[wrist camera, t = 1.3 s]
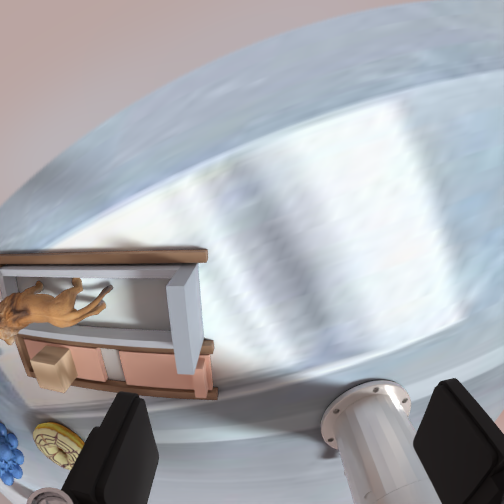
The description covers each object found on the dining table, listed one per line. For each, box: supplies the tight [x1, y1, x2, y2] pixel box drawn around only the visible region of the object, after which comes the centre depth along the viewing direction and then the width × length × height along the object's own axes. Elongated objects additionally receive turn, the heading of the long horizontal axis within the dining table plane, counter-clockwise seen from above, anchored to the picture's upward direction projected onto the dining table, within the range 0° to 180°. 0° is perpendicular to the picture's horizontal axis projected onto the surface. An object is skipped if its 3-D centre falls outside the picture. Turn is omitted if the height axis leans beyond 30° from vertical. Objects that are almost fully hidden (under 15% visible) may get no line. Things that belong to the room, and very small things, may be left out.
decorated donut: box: [33, 422, 85, 470], centre depth 37 cm, size 10×11×4 cm
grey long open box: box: [0, 263, 204, 375], centre depth 29 cm, size 8×26×7 cm, turn 91°
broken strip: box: [24, 338, 213, 398], centre depth 33 cm, size 5×26×3 cm, turn 91°
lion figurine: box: [0, 278, 113, 345], centre depth 28 cm, size 15×5×9 cm, turn 104°
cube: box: [30, 345, 78, 393], centre depth 31 cm, size 4×4×4 cm
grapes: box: [0, 423, 24, 486], centre depth 33 cm, size 12×7×12 cm, turn 32°
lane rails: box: [0, 249, 218, 400], centre depth 32 cm, size 18×28×1 cm, turn 91°
